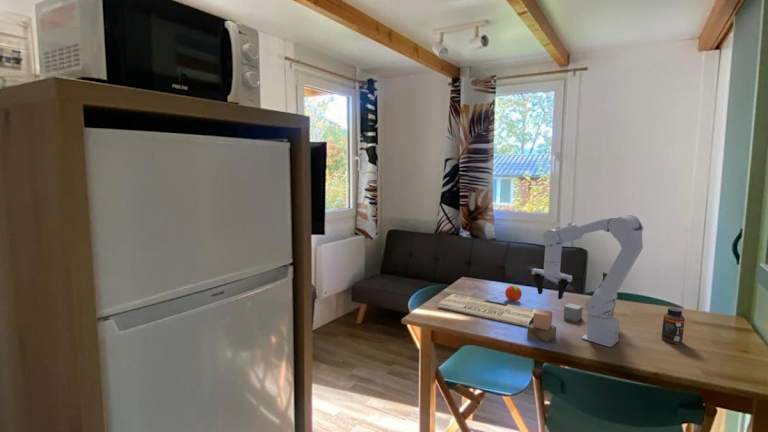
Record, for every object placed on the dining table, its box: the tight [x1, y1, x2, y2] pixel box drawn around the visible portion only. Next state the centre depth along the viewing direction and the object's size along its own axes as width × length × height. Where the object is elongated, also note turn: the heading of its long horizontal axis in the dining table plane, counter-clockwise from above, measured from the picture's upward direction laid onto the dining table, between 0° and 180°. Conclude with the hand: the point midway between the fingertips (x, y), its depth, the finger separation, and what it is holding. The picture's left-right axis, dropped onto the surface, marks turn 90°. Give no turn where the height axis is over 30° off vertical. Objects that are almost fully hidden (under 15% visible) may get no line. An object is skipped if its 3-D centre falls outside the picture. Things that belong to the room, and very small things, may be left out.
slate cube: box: [563, 302, 583, 322], centre depth 164 cm, size 5×5×5 cm
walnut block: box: [526, 323, 557, 344], centre depth 145 cm, size 7×7×4 cm
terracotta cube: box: [532, 308, 553, 330], centre depth 145 cm, size 5×5×5 cm
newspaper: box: [437, 293, 537, 328], centre depth 170 cm, size 37×19×3 cm, turn 57°
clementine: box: [504, 285, 523, 302], centre depth 183 cm, size 8×7×7 cm
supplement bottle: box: [661, 306, 686, 344], centre depth 143 cm, size 6×6×11 cm
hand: (550, 296), depth 158 cm, fingers open, 7 cm apart
